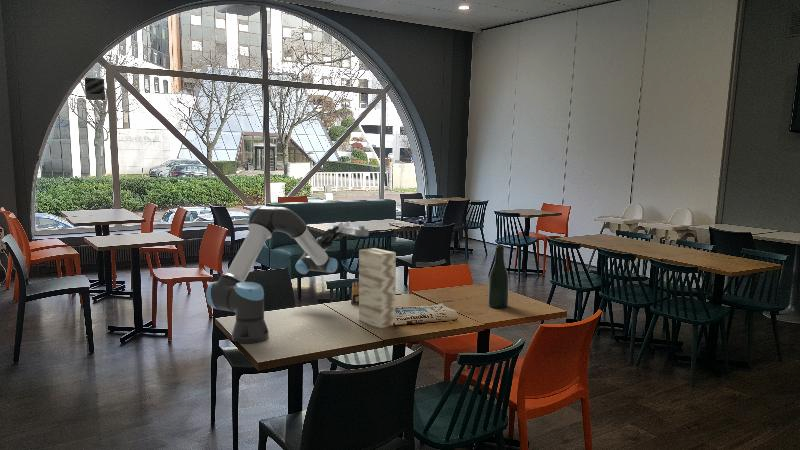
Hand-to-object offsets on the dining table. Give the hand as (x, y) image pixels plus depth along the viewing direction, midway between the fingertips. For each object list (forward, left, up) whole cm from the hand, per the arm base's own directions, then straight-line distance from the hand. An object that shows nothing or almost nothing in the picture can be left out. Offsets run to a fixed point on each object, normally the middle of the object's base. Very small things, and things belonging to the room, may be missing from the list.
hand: (345, 224), depth 275 cm
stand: (0, -25, -44) cm, 51 cm away
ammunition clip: (+16, +9, -44) cm, 48 cm away
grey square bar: (0, -4, -4) cm, 6 cm away
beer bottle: (+68, -42, -44) cm, 92 cm away
